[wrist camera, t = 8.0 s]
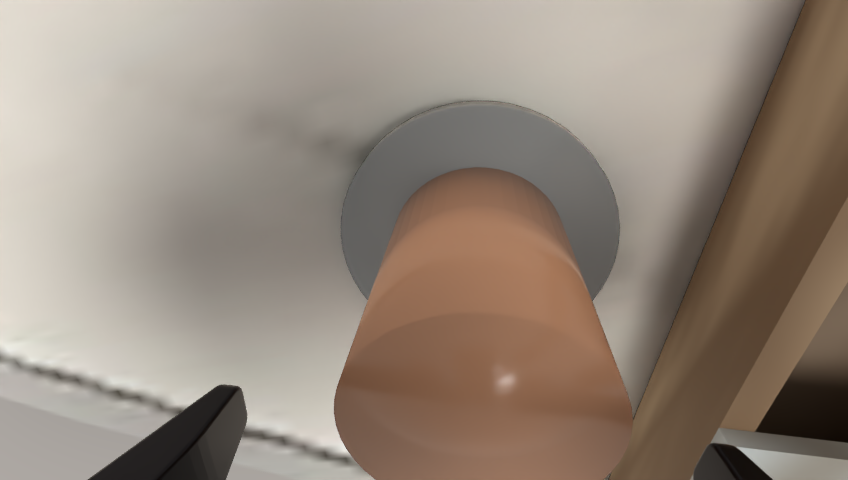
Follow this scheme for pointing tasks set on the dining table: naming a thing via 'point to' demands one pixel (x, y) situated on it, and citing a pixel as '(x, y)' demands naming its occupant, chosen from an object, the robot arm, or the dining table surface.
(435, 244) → the tan cylinder
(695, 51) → the dining table surface
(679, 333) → the box
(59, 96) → the dining table surface
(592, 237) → the saucer
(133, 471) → the robot arm
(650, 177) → the dining table surface
